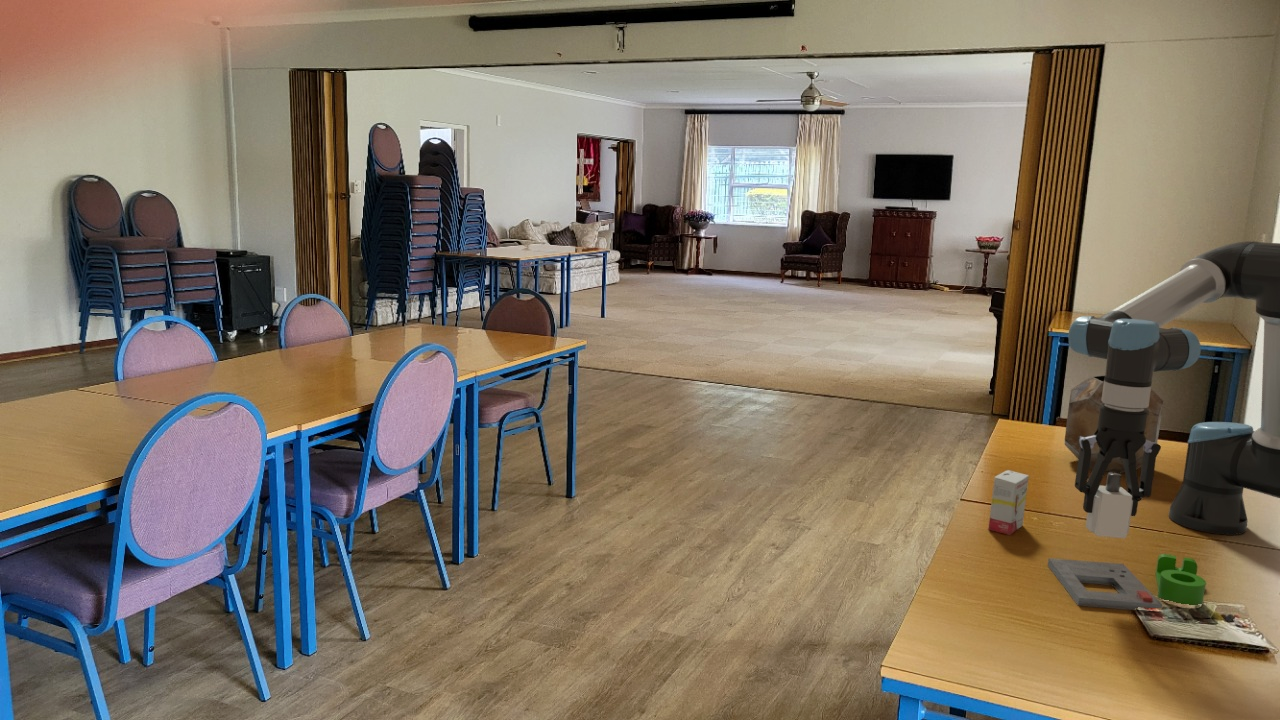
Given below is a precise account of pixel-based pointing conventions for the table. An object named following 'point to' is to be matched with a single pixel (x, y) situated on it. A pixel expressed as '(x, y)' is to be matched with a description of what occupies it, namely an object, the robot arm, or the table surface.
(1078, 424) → the planter
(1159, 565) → the green ring bracket
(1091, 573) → the socket plate
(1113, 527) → the plug
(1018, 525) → the ink box
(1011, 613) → the table surface
